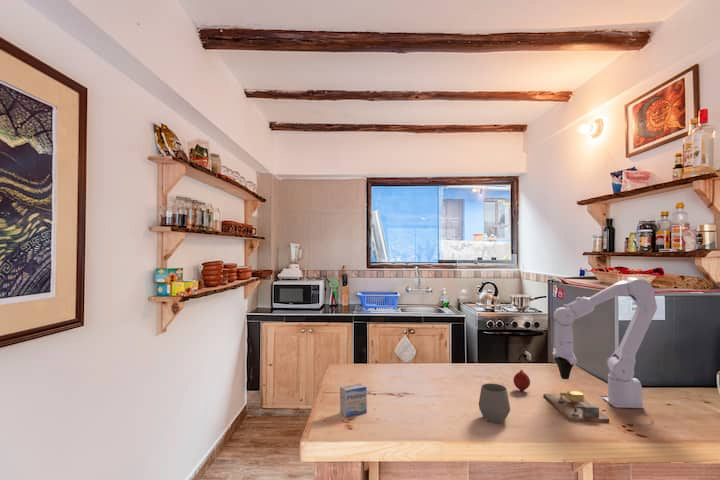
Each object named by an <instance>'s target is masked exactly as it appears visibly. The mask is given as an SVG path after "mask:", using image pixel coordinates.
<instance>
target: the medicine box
mask: <svg viewBox="0 0 720 480" xmlns="http://www.w3.org/2000/svg"><path fill="white" fill-rule="evenodd" d="M367 393H368V391H367V386H366V385H365V384H363V383H356V384H350V385H346V386H340V387H339V401H340V402H339V403H340V404H339V412H340V414H342V416H343V417H345V418H347V419H348V418H350V417H354V416H359V415H363V414H367V413H368V409H367V408H368V407H367V406H368V401H367V400H368V399H367V397H368V394H367Z"/></svg>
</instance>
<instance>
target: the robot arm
mask: <svg viewBox="0 0 720 480" xmlns="http://www.w3.org/2000/svg"><path fill="white" fill-rule="evenodd" d="M615 297H630V298H631V299H632V301H633V302H634V304H635V306H636V309H635V311H634V313H633V315H632V318H631V320H630V322H629V324H628V326H627V328H626V331H625V333H624V335H623V337H622V339H621V341H620V344H619V346H618V347H617V348H616V349H614V351H613V354H611V356H609V357H608V358H607V359H606V367H607V369H608V370H609V372H608V374H607V391H608V392H607V396H603V397H602V400H604V401H605V402H607V403H608V404H610V405H611V406H613V407H614V408H623V409H624V408H627V409H629V408H631V409H632V408H633V409H644V408H645V406H644V405H643V386H642V383H641V381H640V380H639V379H638V378H636V377H634V376H635V365H636V360H637V359H636V355H637V353H638V351H639V348H640V347H641V344H642V342H643V340H644V338H645V336H646V333H647V331H648V329H649V326H650V325H651V323H652V321H653V319H654V316H655V314H656V312H657V309H658V305H657V299H656V296H655V289H654V287H653V285H651V283H650V282H649V281H647V280H645V279H643V278H638V277H635V276H630V277H627V278H625V279H624V280H619V281H617V282H615V283H613V284H611V285H610V286H608V287H606V288H604V289H602V290H600V291H598V292H597V293H594V295H591V296H589V297H587V296H582V297H580V296H577V297H576V298H575V300H573V301H571V302H569V303H568V304H567V303H565V304H563V307H562V306H560V307H557V308H556V309H555V311H554V312H553V317H554V319H555V323H554V326H555V328H554V336H555V337H554V339H555V340H554V345H555V347H553V348H552V353H551V354H552V356H555V357H554V361H555V363H556V365H557V367H558V371H559V375H560V378H561V379H562V380H569V379H570V375H571V372H572V369H573V367H574V365H578V358H576V356H575V354H574V333H573V332H574V330H573V323H574V322H575V320H578V319H579V318H582V317H583V316H585V315H588V314H590V313H592V312H594V310H595V307H596V306H597V305H600V304H603V303H604V302H607V301H608V300H611V299H613V298H615Z"/></svg>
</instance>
